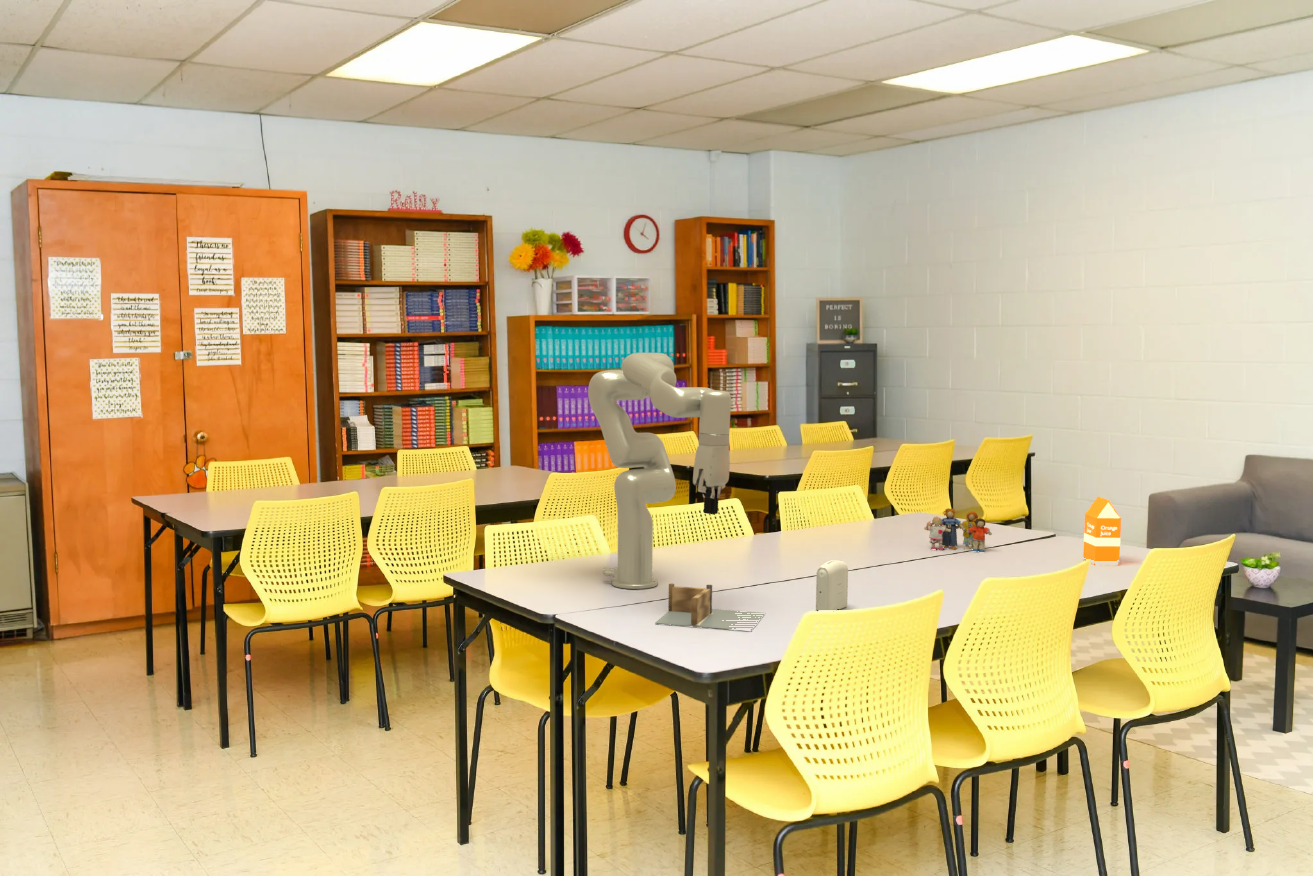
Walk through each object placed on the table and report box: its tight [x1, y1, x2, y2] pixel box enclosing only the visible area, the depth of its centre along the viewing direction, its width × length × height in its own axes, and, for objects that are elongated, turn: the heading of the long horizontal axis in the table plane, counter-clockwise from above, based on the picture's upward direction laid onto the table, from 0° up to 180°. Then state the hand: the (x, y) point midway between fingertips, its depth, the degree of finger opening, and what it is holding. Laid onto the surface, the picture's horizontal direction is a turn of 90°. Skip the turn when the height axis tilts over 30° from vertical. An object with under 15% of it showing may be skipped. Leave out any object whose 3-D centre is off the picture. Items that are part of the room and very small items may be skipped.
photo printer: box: [815, 559, 849, 611], centre depth 281 cm, size 10×4×12 cm, turn 140°
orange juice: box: [1082, 496, 1122, 561], centre depth 345 cm, size 8×9×20 cm
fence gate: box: [691, 589, 710, 624], centre depth 268 cm, size 12×1×6 cm, turn 161°
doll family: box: [923, 508, 993, 553], centre depth 367 cm, size 21×10×13 cm, turn 77°
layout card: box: [654, 608, 765, 630], centre depth 270 cm, size 23×18×1 cm
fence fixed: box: [667, 583, 713, 614], centre depth 275 cm, size 11×1×7 cm, turn 74°
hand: (710, 513), depth 280 cm, fingers closed
